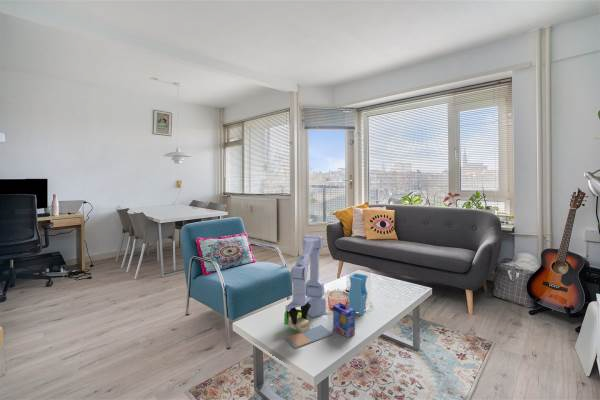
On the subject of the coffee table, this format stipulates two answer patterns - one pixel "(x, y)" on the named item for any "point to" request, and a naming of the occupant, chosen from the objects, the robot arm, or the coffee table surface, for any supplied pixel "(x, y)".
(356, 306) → the vase
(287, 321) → the fruit basket
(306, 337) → the mat
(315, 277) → the robot arm
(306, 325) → the tan rectangular block
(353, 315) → the ink cartridge box
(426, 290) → the coffee table surface
